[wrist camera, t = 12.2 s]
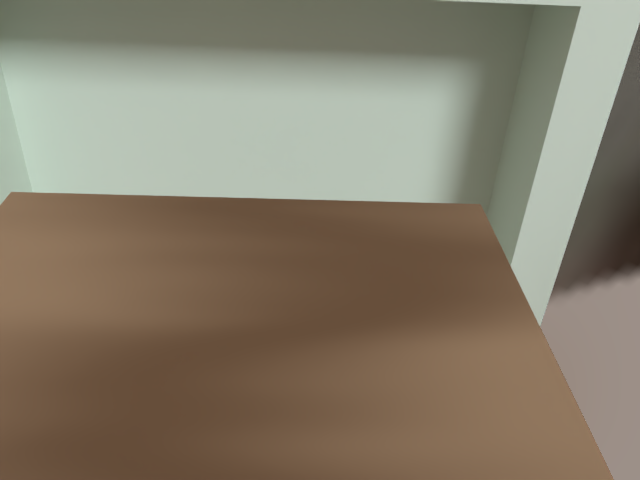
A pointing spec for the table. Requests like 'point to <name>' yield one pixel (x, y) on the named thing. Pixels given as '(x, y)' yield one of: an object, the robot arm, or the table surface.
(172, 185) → the tray
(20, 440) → the block
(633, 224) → the table surface
